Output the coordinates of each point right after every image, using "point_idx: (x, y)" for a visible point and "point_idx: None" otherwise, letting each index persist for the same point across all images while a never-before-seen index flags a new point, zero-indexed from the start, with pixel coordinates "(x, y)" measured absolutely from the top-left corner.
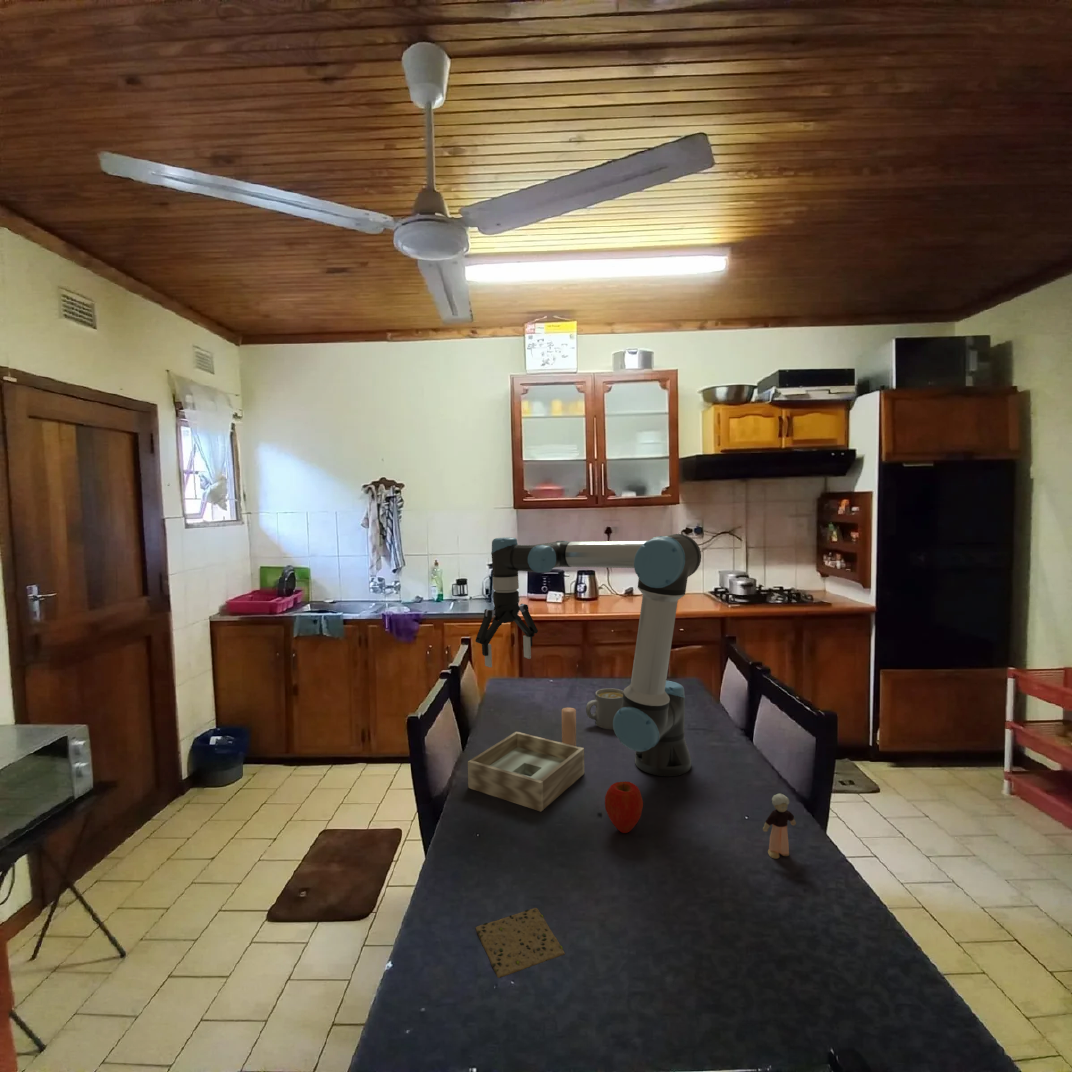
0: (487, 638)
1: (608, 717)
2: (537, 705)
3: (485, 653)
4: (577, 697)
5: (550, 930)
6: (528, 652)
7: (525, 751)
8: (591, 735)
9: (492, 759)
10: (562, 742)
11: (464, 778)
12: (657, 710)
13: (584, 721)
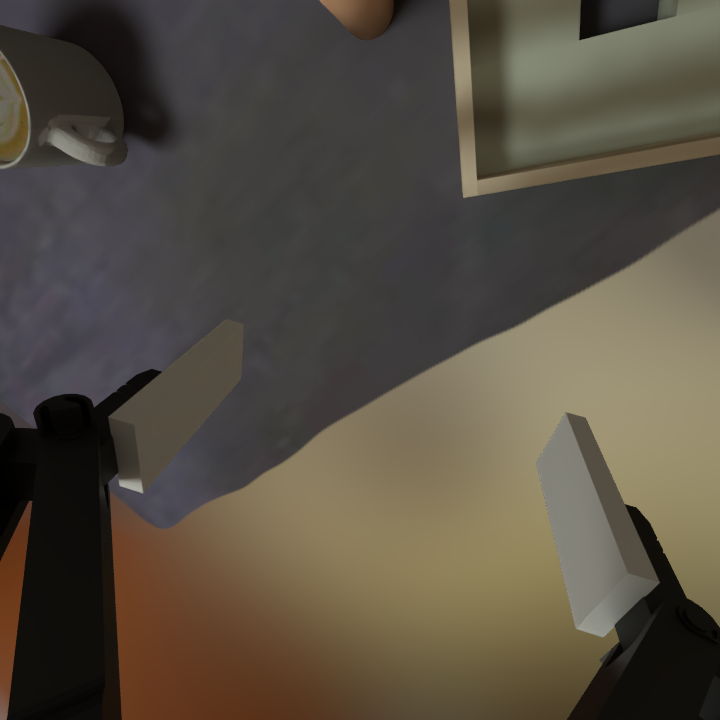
0: (707, 684)
1: (76, 69)
2: None
3: (644, 526)
4: (59, 322)
5: None
6: (219, 348)
7: (488, 121)
8: (185, 88)
9: (651, 145)
10: (380, 3)
11: (704, 200)
12: None
13: (137, 190)
